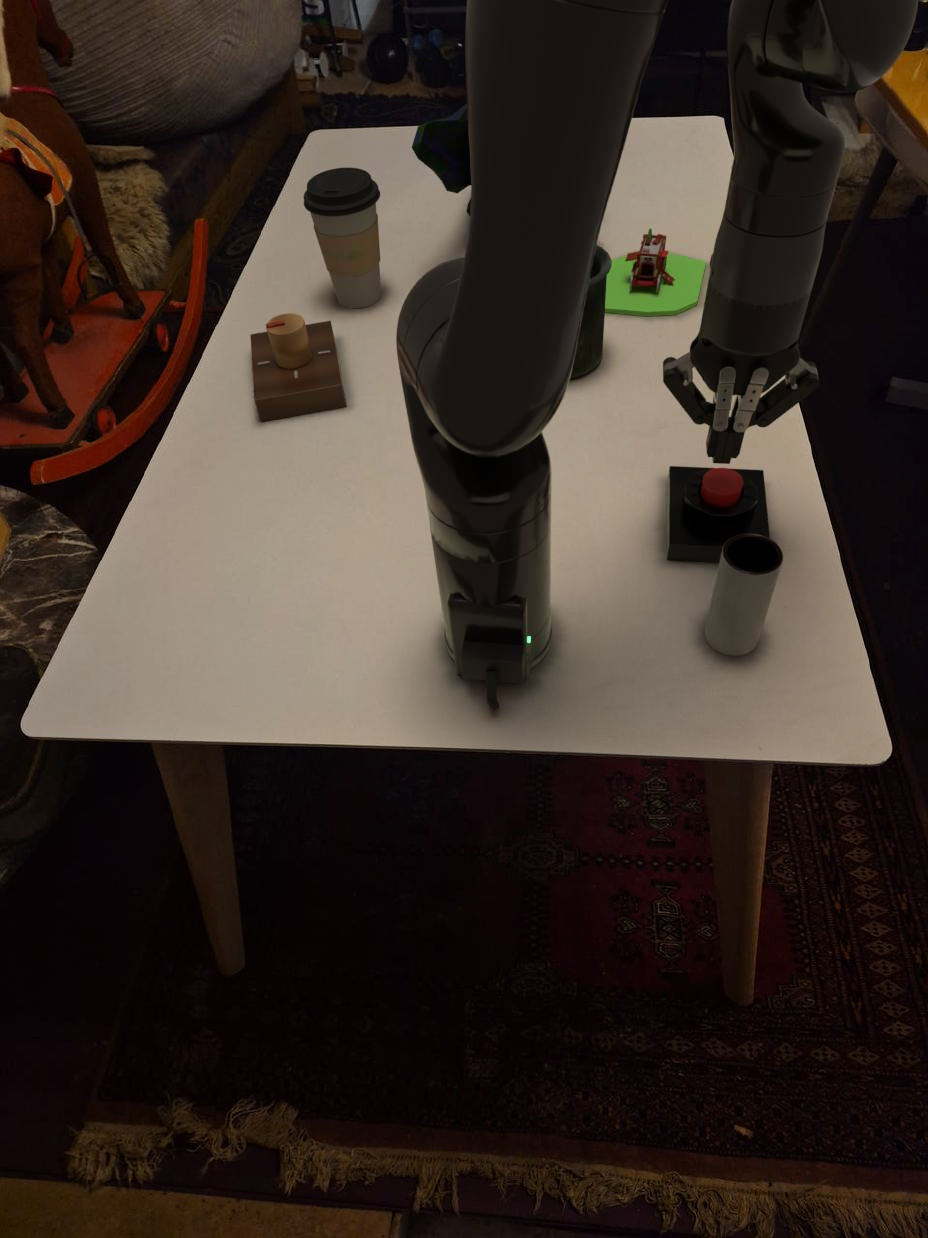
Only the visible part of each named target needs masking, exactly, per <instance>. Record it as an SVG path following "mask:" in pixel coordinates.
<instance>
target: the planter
mask: <svg viewBox="0 0 928 1238" xmlns="http://www.w3.org/2000/svg"><path fill="white" fill-rule="evenodd" d="M783 562H784V554H783V550H782V548H781V547H780V546H779V544H778V543H777V542H776V541H774V540H773V539H772V538H771V537H770V538H768V537H766V536H763V535H760V534H755V533H743V534H738V535H735V536H733V537H731V538H730V539H728V540H727V541H726V543H725V544H724V546H723V549H722V553H721V558H720V562H719V563H718V567H717V572H716V576H715V581H714V585H713V590H712V594H711V599H710V603H709V607H708V611H707V616H706V622H705V626H704V638H705V641H706V642H707V644H708V645H709V646H710V647H711V648H712V649H713V650H715V652H717V653H720V654H723V655H726V656H732V657H737V656H744V655H747V654H749V653H751V652H752V651H753V650H754V649H756V647H757V646H758V642H759V641H760V637H761V634H762V630H763V627H764V624H765V621H766V617H767V614H768V611H769V608H770V605H771V601H772V597H773V594H774V591H775V587H776V584H777V582H778V578H779V575H780V571H781V568H782V565H783Z"/></svg>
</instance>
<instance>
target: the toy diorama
mask: <svg viewBox="0 0 928 1238" xmlns="http://www.w3.org/2000/svg"><path fill="white" fill-rule="evenodd" d="M666 243H667V235H664V234H661V233H657V234H653V231H652V228H651V227H649V229H648V231H647V233H643V236H642V240H641V243H640V248H639V251H633V252H628V253H627V254H626V255H624V256H623V255H622V256H620V257H617V258H614V259H611V261H612V266H611V269H610V271H609V273H608V274H607V281H606V299H605V314H606V313H607V314H618V315H628V316H640V317H659V316H676V315H679V314H681V313H683V312H685V311H687V310H690V309H692V308H694V307H696V306H698V305H697V304H698V300H699V296H700V292H701V288H702V284H703V278H704V274H705V270H706V266H707V265H706V264H707V261H704V260H700V259H697V258H694V257H693V258H692V257H688V256H685V255H680V254H678V253H677V254H676V253H673V252H669V250H666Z"/></svg>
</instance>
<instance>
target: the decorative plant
mask: <svg viewBox="0 0 928 1238" xmlns="http://www.w3.org/2000/svg"><path fill="white" fill-rule="evenodd" d="M411 149H412V151H413V153H414V154H415V157H416V158H417V159H418V160H419V161H420V162H422V163H423V165H425V166H426V167H427V168H429V169H430V170H431V171H432V172H433V173H434V175H436V177H437V178H438V179H439V180H440V182H441V183H442V184H443V187H444V188H445V191H446V192H448V193H453V194H454V193H455V194H459V193H461V192H462V191H463V190H465V189H466V188H468V187H469V186H471V166H470V145H469V129H468V114H467V102H466V103H465V104H464V105H463V106H461V107H460V108H459V109H458V110H457V111H456V112H454V113H453V114H452V115H450V116H449V117H445V118H441V119H440V118H439V119H435V120H430V121H427V122H425V123H422V124H420V125H418V126H417V128H416V132H415V134H414V138H413V142H412V145H411ZM469 198H470V199H469V200H468V203H467V205H466V206H467V207H466V211H465V213H466V214H467V215H468V216H469V217H470V212H471V197H469Z"/></svg>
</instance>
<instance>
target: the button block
mask: <svg viewBox="0 0 928 1238" xmlns="http://www.w3.org/2000/svg"><path fill="white" fill-rule="evenodd" d="M668 468H669V469H668V475H667V476H668V477H667V480H666V481H667V482H666V495H667V496H666V561H671V562H686V563H688V562H689V563H703V564H704V563H705V564H719V562H720V558H721V553H722V549H723V546H724V544H725V543H726V541H727V540H728V539H730V538H731V537H733V536H735V535H738V534H743V533H755V534H760V535H763V536H766V537H768V538H770V539H771V536H770V535H771V534H770V525H769V524H770V523H769V516H768V515H769V513H768V504H767V503H768V502H767V494H766V484H765V473H764V470H763V469H748V468H730V469H731V470H734V471H736V472H737V473H739V474H740V475H741V477H742V479H743V487H742V491H741V495H740V499H739V501H738V502H737V503H736V504H734V505H732V506H729V507H715V506H713V505H711V504H708V503H706V502H705V501H704V500H703V499H702V497H701V487H702V481H703V477H704V475H705V474H706V473H707V472H708V471H709V470H711V469H715V468H716V467H701V466H698V467H697V466H681V465H680V466H678V465H670V466H669V467H668Z"/></svg>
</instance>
